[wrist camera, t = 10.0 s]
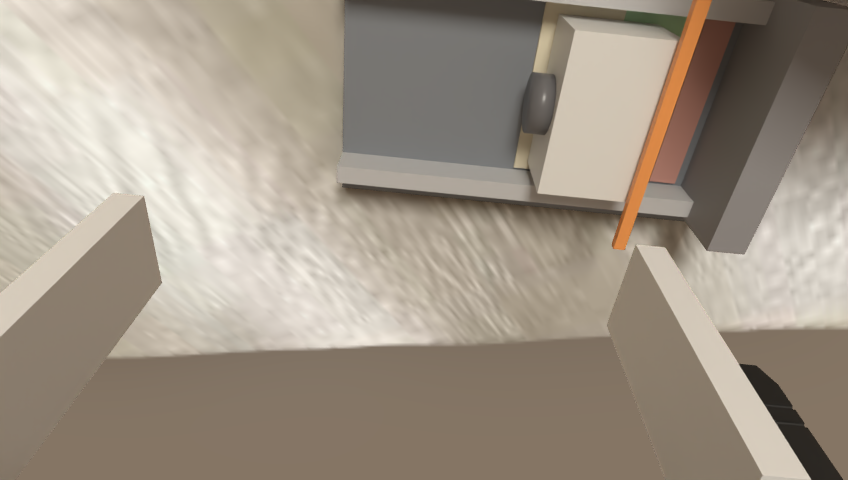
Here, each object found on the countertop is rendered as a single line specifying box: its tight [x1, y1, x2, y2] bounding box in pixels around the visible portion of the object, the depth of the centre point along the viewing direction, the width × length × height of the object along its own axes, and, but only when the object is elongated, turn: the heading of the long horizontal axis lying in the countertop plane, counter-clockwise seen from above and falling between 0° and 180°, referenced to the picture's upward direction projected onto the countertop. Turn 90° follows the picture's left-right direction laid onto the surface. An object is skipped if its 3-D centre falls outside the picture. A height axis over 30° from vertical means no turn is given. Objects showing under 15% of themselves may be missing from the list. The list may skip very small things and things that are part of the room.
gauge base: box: [337, 0, 848, 254], centre depth 28 cm, size 22×14×6 cm, turn 85°
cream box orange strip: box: [522, 0, 712, 250], centre depth 27 cm, size 6×13×5 cm, turn 175°
